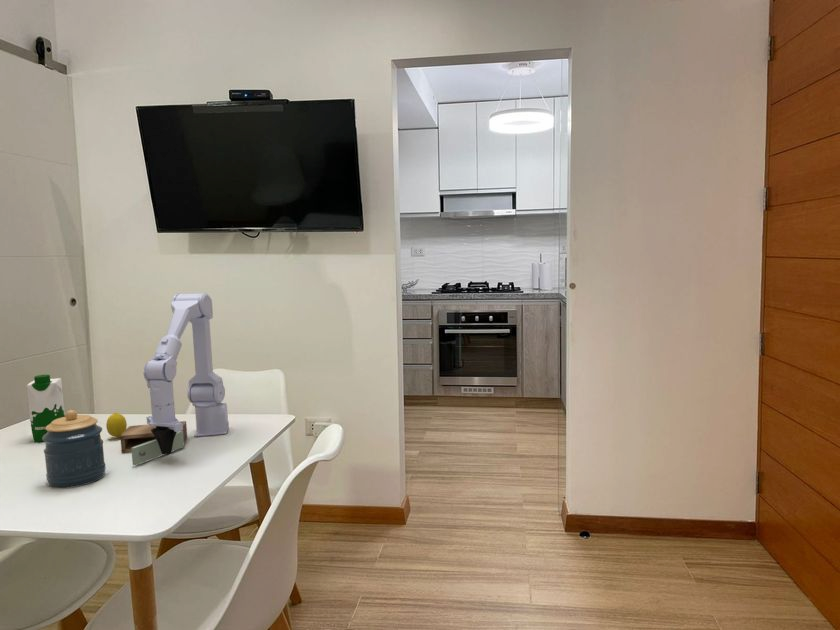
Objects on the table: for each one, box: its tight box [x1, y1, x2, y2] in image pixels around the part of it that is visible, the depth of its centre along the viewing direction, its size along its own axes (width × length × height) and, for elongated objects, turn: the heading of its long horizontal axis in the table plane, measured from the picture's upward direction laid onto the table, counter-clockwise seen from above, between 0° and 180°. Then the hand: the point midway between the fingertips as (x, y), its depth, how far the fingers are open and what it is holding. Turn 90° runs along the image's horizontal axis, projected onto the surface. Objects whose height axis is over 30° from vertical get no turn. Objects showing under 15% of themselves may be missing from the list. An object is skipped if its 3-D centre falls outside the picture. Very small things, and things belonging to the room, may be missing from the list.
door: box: [131, 431, 185, 466], centre depth 166 cm, size 16×2×5 cm, turn 153°
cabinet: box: [119, 420, 188, 454], centre depth 176 cm, size 16×10×5 cm, turn 103°
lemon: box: [105, 412, 128, 439], centre depth 184 cm, size 6×6×8 cm
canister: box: [42, 409, 107, 489], centre depth 150 cm, size 13×13×18 cm
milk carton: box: [26, 374, 66, 444], centre depth 186 cm, size 9×9×20 cm
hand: (166, 453), depth 163 cm, fingers closed
